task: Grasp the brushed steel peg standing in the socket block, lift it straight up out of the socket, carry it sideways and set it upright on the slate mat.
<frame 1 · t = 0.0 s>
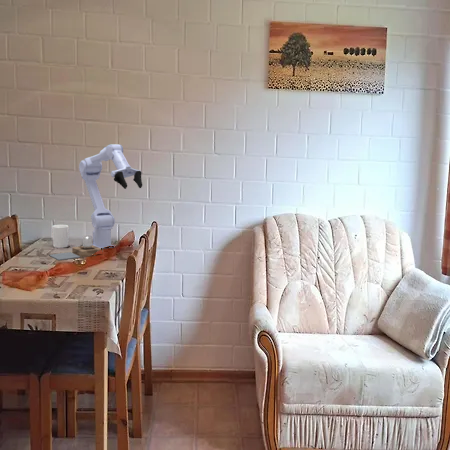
hand: (133, 187, 236), 32 cm above the table, tool tilted 50°, fingers open, 7 cm apart
steel peg: (87, 245, 246), in the socket block
slate mat: (64, 256, 240), on the table
socket block: (87, 253, 247), on the table
white cup: (60, 246, 259), on the table
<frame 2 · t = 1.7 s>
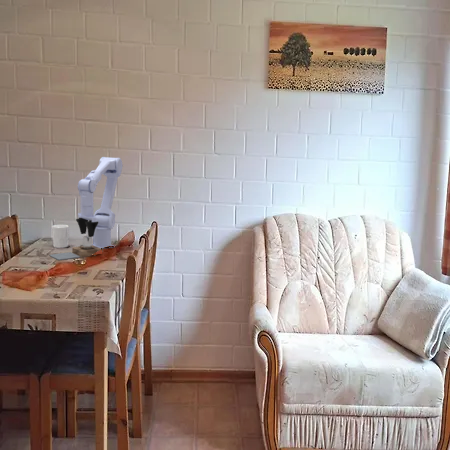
hand: (87, 235, 245), 9 cm above the table, tool pointing down, fingers open, 7 cm apart
nothing on the table moved.
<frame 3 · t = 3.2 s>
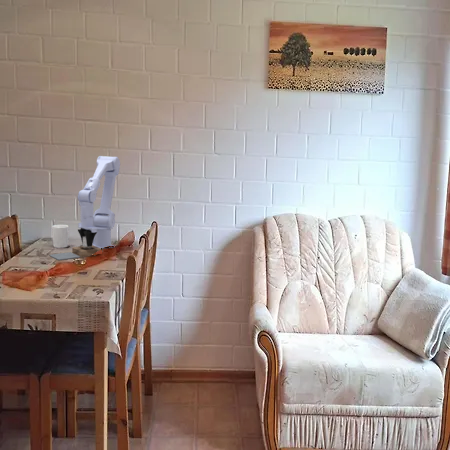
hand: (87, 245, 246), 4 cm above the table, tool pointing down, fingers closed on steel peg, 4 cm apart
steel peg: (87, 245, 246), in the socket block, touching gripper
everything else where it was.
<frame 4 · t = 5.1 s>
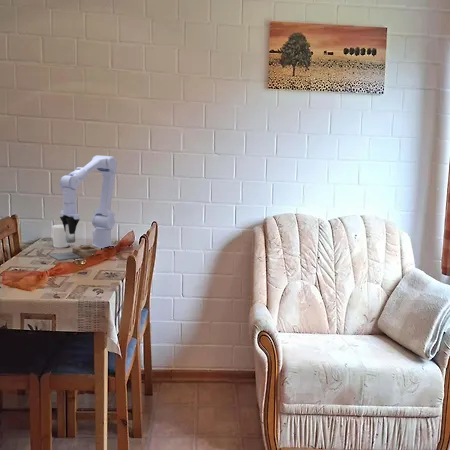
hand: (69, 232, 240), 11 cm above the table, tool pointing down, fingers closed on steel peg, 4 cm apart
steel peg: (70, 233, 240), point 10 cm above the table, touching gripper
everything else where it was.
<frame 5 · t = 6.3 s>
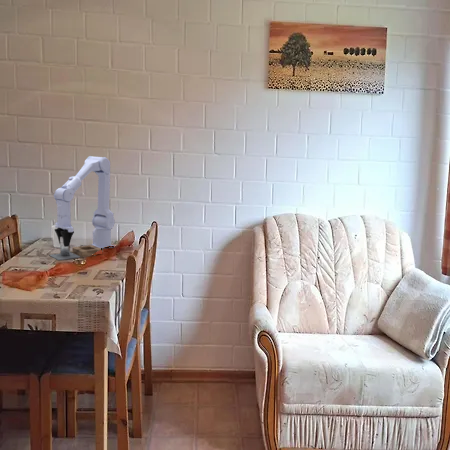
hand: (64, 245, 239), 5 cm above the table, tool pointing down, fingers closed on steel peg, 4 cm apart
steel peg: (65, 245, 239), point 5 cm above the table, touching gripper
everything else where it was.
when the fingers open (5 cm above the table, at t = 7.2 s): steel peg stays where it is, resting on slate mat.
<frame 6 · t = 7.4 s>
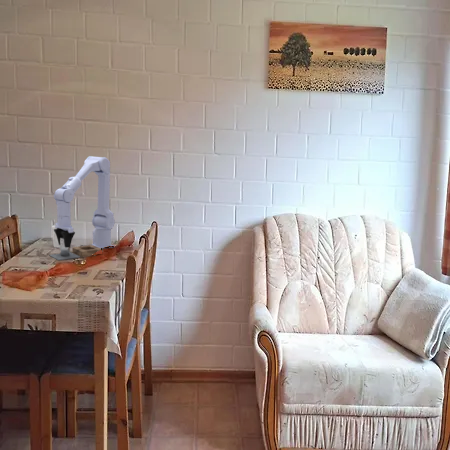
hand: (64, 245, 239), 5 cm above the table, tool pointing down, fingers open, 6 cm apart
steel peg: (65, 246, 239), on the slate mat
everything else where it was.
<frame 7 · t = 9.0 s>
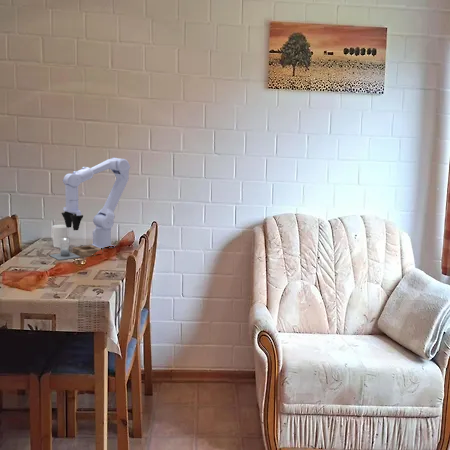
hand: (72, 228, 250), 10 cm above the table, tool pointing down, fingers open, 7 cm apart
nothing on the table moved.
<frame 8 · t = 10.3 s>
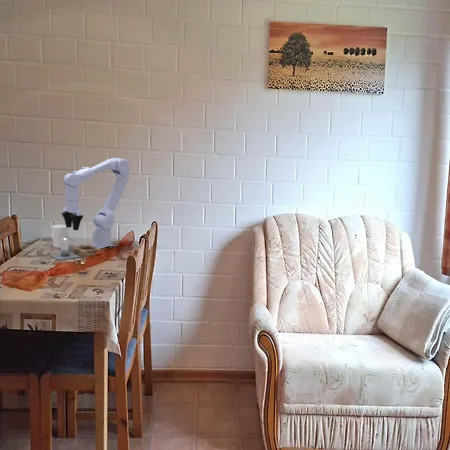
hand: (72, 228, 250), 10 cm above the table, tool pointing down, fingers open, 7 cm apart
nothing on the table moved.
at the end: steel peg 0.3 cm off-centre on the slate mat, point 4.4 cm above the slate mat's base; steel peg tilted 1°; the gripper is holding nothing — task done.
